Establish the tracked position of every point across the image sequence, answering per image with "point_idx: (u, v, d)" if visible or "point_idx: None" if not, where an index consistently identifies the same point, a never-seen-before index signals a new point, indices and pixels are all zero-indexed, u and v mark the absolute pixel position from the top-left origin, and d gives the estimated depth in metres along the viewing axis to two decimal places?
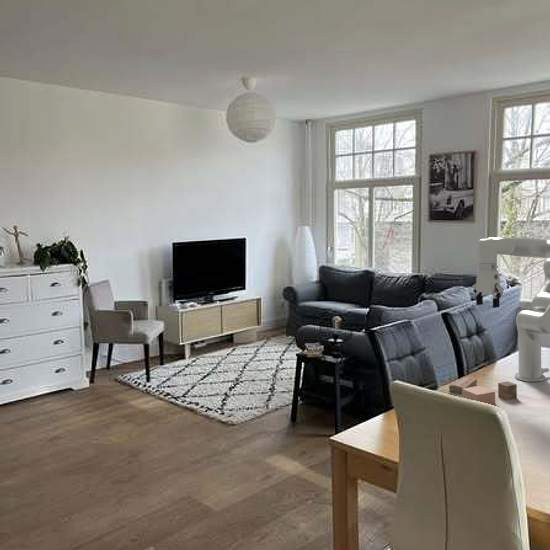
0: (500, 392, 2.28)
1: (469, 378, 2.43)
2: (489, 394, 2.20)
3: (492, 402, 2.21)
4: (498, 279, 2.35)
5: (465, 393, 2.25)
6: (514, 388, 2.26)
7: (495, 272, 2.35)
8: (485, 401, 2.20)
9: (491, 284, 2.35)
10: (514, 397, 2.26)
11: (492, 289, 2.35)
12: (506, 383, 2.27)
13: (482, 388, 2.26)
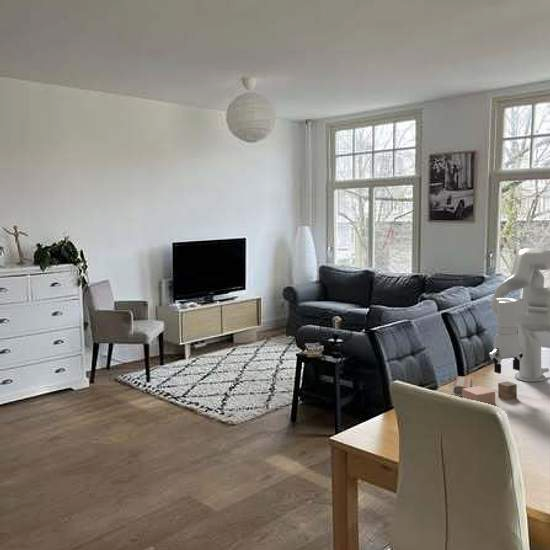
0: (500, 392, 2.28)
1: (464, 377, 2.45)
2: (489, 394, 2.20)
3: (492, 402, 2.21)
4: None
5: (465, 393, 2.25)
6: (514, 388, 2.26)
7: None
8: (485, 401, 2.20)
9: (519, 347, 2.26)
10: (514, 397, 2.26)
11: (519, 352, 2.26)
12: (506, 383, 2.27)
13: (482, 388, 2.26)
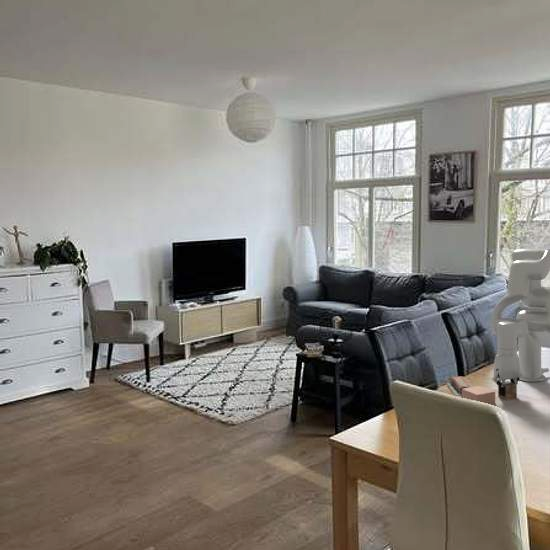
0: None
1: (460, 377, 2.45)
2: (489, 394, 2.20)
3: (492, 402, 2.21)
4: None
5: (465, 393, 2.25)
6: (514, 387, 2.26)
7: None
8: (485, 401, 2.20)
9: (519, 368, 2.27)
10: (514, 397, 2.26)
11: (519, 372, 2.27)
12: (506, 383, 2.27)
13: (482, 388, 2.26)
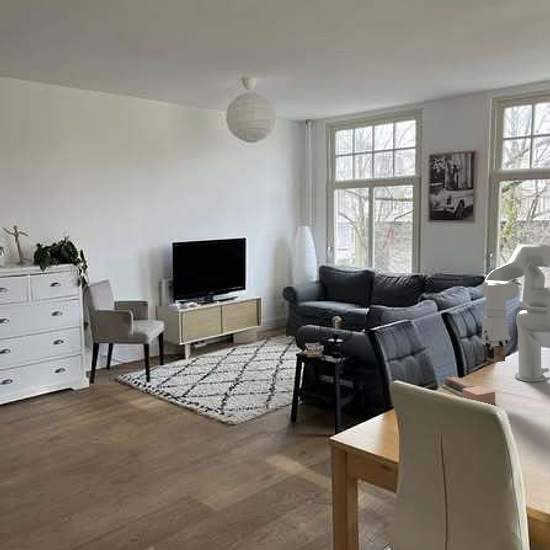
0: None
1: (455, 378, 2.45)
2: (489, 394, 2.20)
3: (492, 402, 2.21)
4: None
5: (465, 393, 2.25)
6: (503, 350, 2.23)
7: None
8: (485, 401, 2.20)
9: (507, 330, 2.23)
10: (502, 359, 2.23)
11: (508, 335, 2.24)
12: (494, 346, 2.24)
13: (482, 388, 2.26)
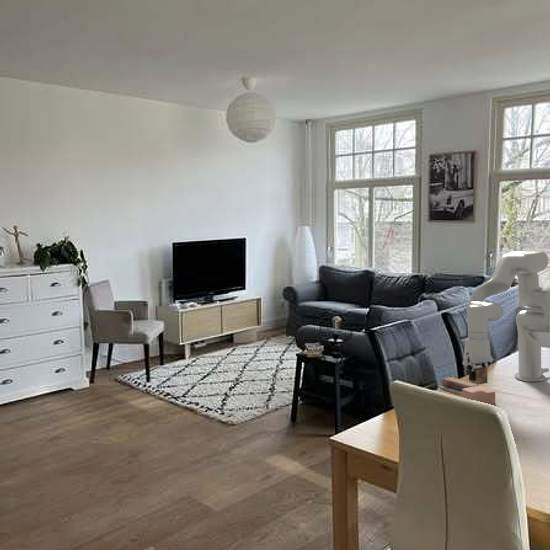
0: None
1: (452, 378, 2.45)
2: (489, 394, 2.20)
3: (492, 402, 2.21)
4: None
5: (465, 393, 2.25)
6: (485, 372, 2.21)
7: None
8: (485, 401, 2.20)
9: (490, 352, 2.22)
10: (485, 381, 2.22)
11: (490, 357, 2.22)
12: (477, 368, 2.23)
13: (482, 388, 2.26)
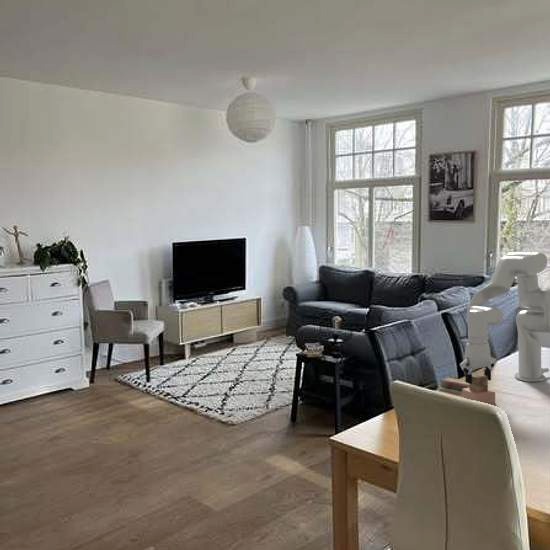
0: (471, 385, 2.24)
1: (450, 379, 2.44)
2: (489, 394, 2.20)
3: (492, 402, 2.21)
4: None
5: (465, 393, 2.25)
6: (485, 380, 2.22)
7: None
8: (485, 401, 2.20)
9: (490, 356, 2.22)
10: (485, 389, 2.22)
11: (490, 361, 2.23)
12: (477, 376, 2.23)
13: None
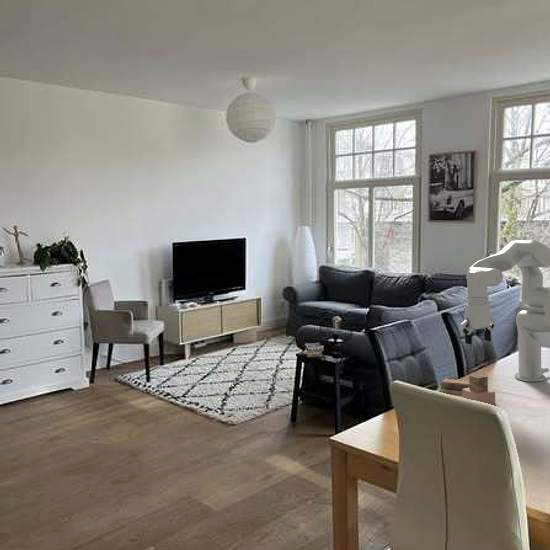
0: (471, 385, 2.24)
1: (448, 380, 2.43)
2: (489, 394, 2.20)
3: (492, 402, 2.21)
4: None
5: (465, 393, 2.25)
6: (485, 380, 2.22)
7: None
8: (485, 401, 2.20)
9: (489, 317, 2.22)
10: (485, 389, 2.22)
11: (490, 322, 2.23)
12: (477, 376, 2.23)
13: None
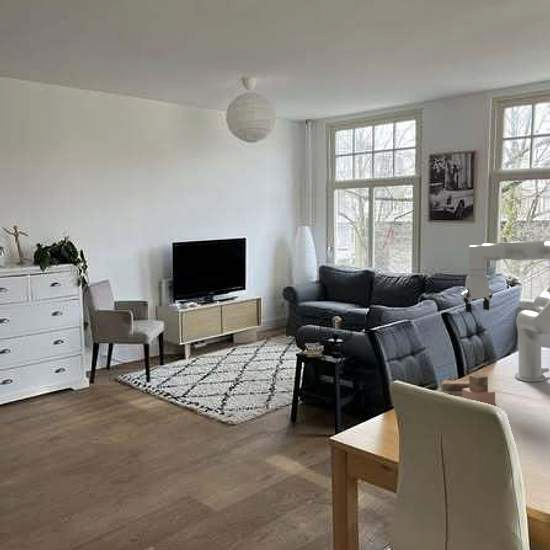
0: (471, 385, 2.24)
1: (447, 381, 2.41)
2: (489, 394, 2.20)
3: (492, 402, 2.21)
4: None
5: (465, 393, 2.25)
6: (485, 380, 2.22)
7: None
8: (485, 401, 2.20)
9: (488, 288, 2.44)
10: (485, 389, 2.22)
11: (488, 292, 2.45)
12: (477, 376, 2.23)
13: None
